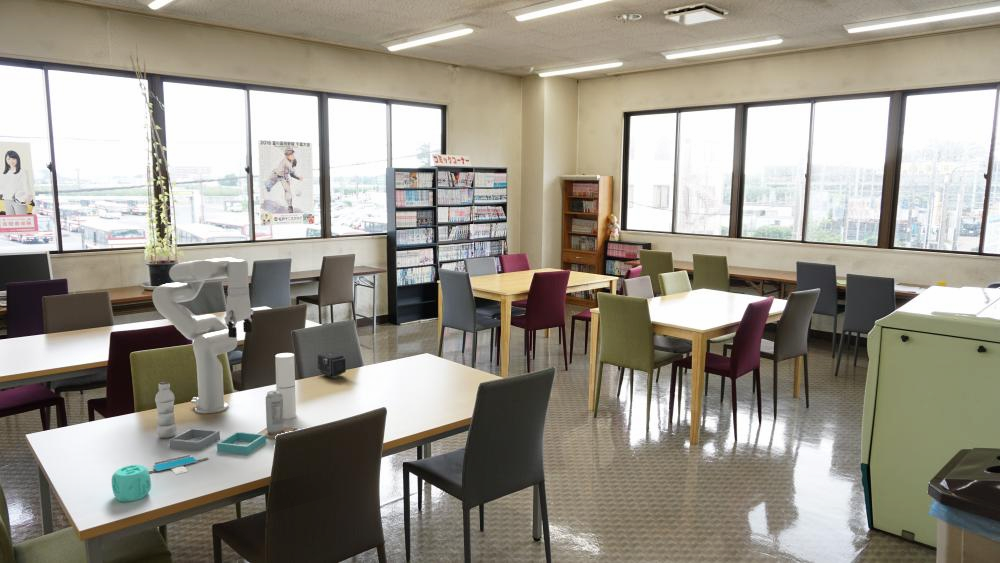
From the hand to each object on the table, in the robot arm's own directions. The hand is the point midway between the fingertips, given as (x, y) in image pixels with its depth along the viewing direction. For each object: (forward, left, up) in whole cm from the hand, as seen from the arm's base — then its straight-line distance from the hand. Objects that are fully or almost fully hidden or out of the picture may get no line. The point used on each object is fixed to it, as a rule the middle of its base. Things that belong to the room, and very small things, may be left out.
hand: (240, 334), depth 260 cm
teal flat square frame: (+18, -28, -33) cm, 47 cm away
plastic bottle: (-14, -26, -34) cm, 45 cm away
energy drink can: (+22, -13, -33) cm, 42 cm away
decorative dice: (+9, -69, -34) cm, 77 cm away
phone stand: (+8, -48, -34) cm, 59 cm away
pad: (+22, -13, -33) cm, 42 cm away
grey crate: (0, -29, -33) cm, 44 cm away
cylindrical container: (+16, +5, -34) cm, 37 cm away
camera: (+7, +62, -34) cm, 71 cm away
